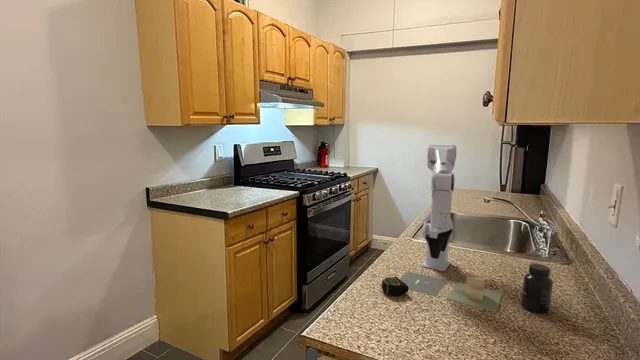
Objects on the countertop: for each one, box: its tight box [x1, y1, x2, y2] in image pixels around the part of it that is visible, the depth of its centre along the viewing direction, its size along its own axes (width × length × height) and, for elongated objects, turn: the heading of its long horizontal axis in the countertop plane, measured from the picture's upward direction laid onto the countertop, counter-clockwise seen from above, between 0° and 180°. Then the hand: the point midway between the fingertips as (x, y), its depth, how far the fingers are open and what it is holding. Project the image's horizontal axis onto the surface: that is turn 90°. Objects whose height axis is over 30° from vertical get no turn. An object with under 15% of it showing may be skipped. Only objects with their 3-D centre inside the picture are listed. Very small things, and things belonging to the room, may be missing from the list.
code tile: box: [399, 270, 447, 297], centre depth 113 cm, size 13×13×1 cm
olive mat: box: [446, 281, 503, 313], centre depth 104 cm, size 13×13×1 cm
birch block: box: [465, 271, 485, 300], centre depth 104 cm, size 4×4×6 cm
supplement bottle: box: [520, 263, 554, 315], centre depth 97 cm, size 7×7×12 cm
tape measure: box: [381, 276, 410, 297], centre depth 106 cm, size 7×7×4 cm
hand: (438, 254), depth 112 cm, fingers open, 7 cm apart
